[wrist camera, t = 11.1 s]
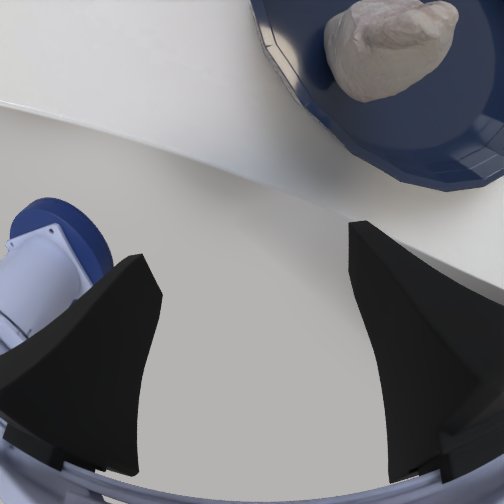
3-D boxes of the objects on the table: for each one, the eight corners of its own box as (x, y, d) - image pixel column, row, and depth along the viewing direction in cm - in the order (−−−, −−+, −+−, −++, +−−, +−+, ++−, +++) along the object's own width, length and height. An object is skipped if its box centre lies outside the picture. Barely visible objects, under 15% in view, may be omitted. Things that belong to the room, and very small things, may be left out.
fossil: (345, 100, 15) (431, 138, 7) (294, 72, 14) (336, 68, 6) (385, 31, 12) (494, 16, 3) (337, 1, 11) (413, -57, 3)
